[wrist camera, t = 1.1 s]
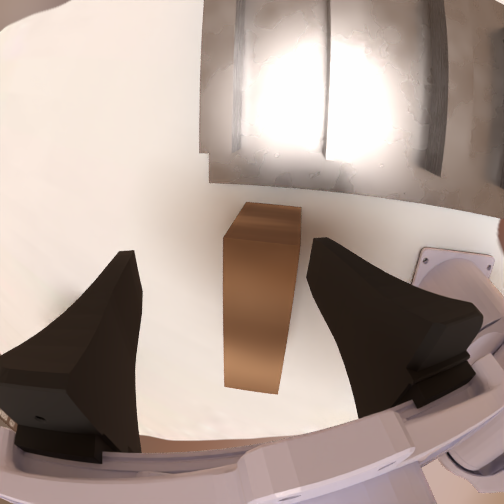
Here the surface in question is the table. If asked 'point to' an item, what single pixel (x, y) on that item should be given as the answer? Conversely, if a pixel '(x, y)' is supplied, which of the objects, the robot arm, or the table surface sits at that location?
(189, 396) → the table surface
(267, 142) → the rack
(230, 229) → the brown wooden block
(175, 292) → the table surface
